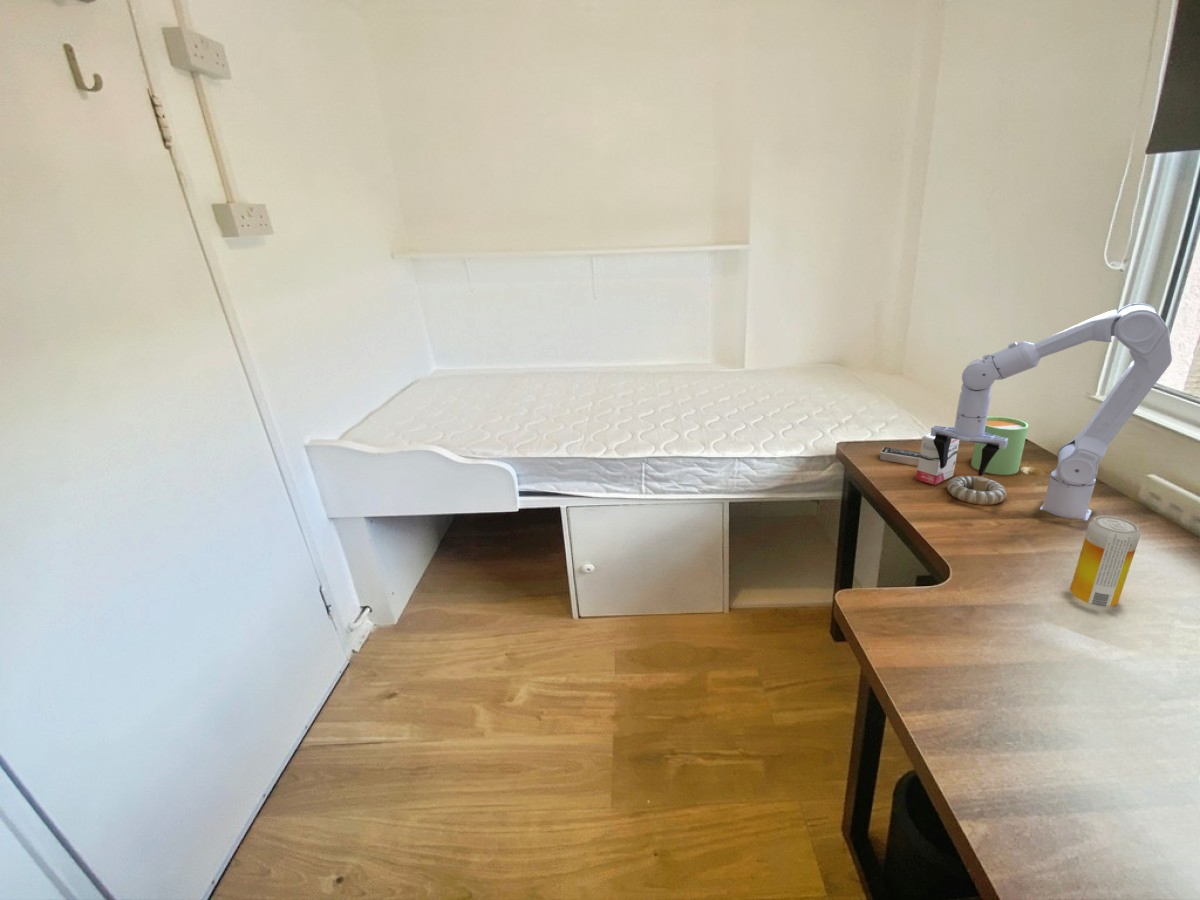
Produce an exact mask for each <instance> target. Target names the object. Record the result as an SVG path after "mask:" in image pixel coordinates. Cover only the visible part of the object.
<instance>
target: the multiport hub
mask: <svg viewBox="0 0 1200 900" xmlns="http://www.w3.org/2000/svg"><path fill="white" fill-rule="evenodd" d="M919 457H920V451H913V450H906V449H900V448H894V447H888V446H883V448H881V450H880V453H879V460H880V461H884V462H891V463H895V464H896V463H897V464H903V465H909V466H915V467H918V464H919Z"/></svg>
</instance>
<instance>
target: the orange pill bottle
mask: <svg viewBox="0 0 1200 900" xmlns="http://www.w3.org/2000/svg"><path fill="white" fill-rule="evenodd" d="M1139 529H1140V528H1139V526H1138V525H1137V524H1136V523H1134V522H1133V521H1131V520H1128V519H1126V518H1123V517H1119V516H1113V515H1097V516H1095V517H1094V518H1093V520H1091V521H1090V522H1089V523H1088V526H1087V528H1086V533H1085V536H1084V540H1083V543H1082V546H1081V550H1080V553H1079V556H1078V561H1077V564H1076V567H1075V571H1074V574H1073V578H1072V581H1071V585H1070V588H1069V590H1070V593H1071V594H1072V595H1073V596H1075V598H1077V599H1079V600H1080V601H1083V602H1085V603H1088V604H1090V605H1094V606H1099V607H1114V606H1117V605H1118V604H1119V601H1120V599H1121V595H1122V593H1123V590H1124V586H1125V584H1126V580H1127V577H1128V574H1129V571H1130V568H1131V565H1132V563H1133V558H1134V556H1135V553H1136V550H1137V547H1138V544H1139V541H1140V538H1141V533H1140V530H1139Z"/></svg>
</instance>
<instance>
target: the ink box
mask: <svg viewBox="0 0 1200 900" xmlns="http://www.w3.org/2000/svg"><path fill="white" fill-rule="evenodd" d="M930 434H931V432H929V433H926V434H924V435H923V436H922V438H921V444H920V450H919V452H920V457H919V464H918V466H917V471H916V478H915V479H916V481H920V482H924V483H926V484H928V485H929V484H930V485H933V486H936V485H938V484H939V483H941V482H944V481H946V480H948V479H950V478H951V477H952V478H953V476H954V473H955V466H956V461H957V458H958V457H957V456H958V452H959V451H958V450H959V445H960V440H958V439H951V442H950V446H949V450H948V459H947V464H946V466H945V467H944V468H941V467H940V460H939V455H938V451H937V449H936V446H935V444H934V439H935V437H936V436H931V435H930Z"/></svg>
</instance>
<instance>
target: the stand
mask: <svg viewBox="0 0 1200 900" xmlns="http://www.w3.org/2000/svg"><path fill="white" fill-rule="evenodd" d="M988 479H989V478H987V477H984V476H977V477H975V481H974V486H973V489H971V490H975V491H986V487H987V482H988Z"/></svg>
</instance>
